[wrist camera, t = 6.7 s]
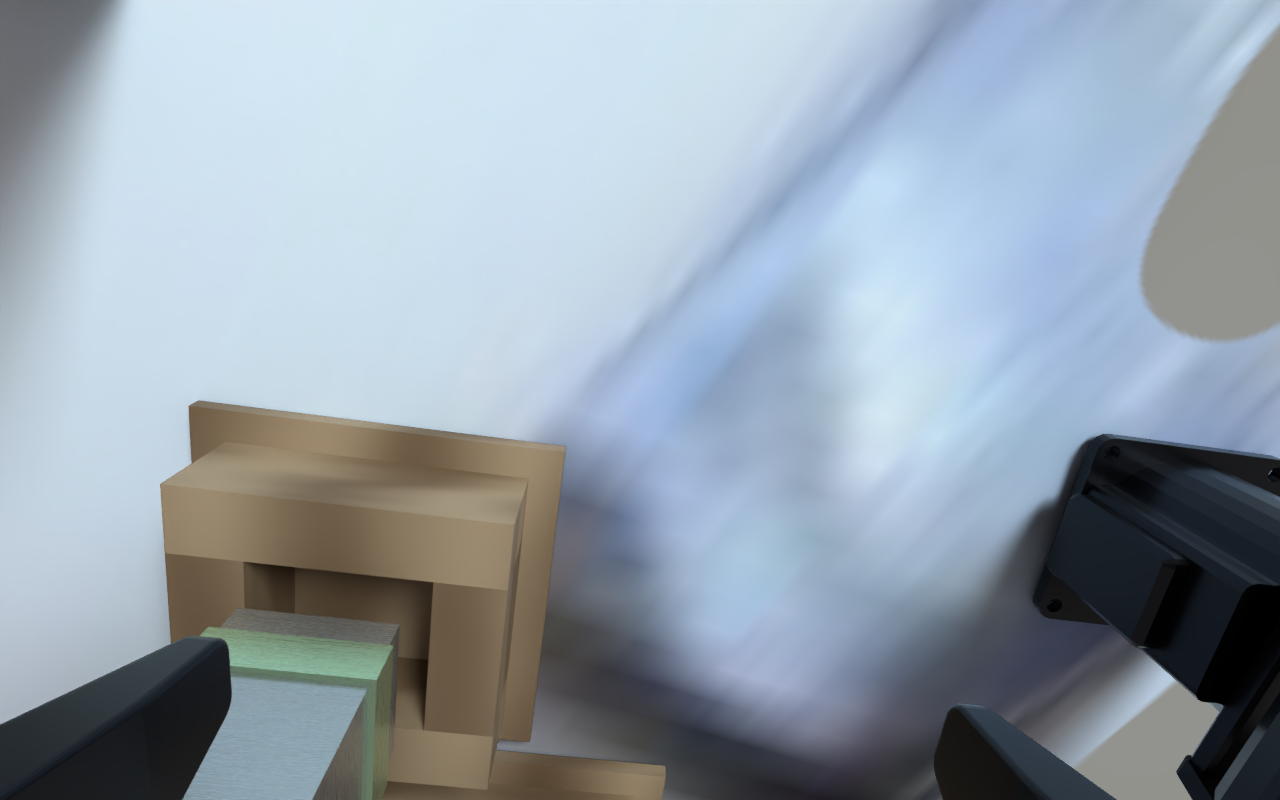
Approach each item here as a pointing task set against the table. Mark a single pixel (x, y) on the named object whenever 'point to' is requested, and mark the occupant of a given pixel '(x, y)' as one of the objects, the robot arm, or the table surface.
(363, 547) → the marked collar
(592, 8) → the table surface
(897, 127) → the table surface
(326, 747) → the marked post
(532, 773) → the wooden square base
